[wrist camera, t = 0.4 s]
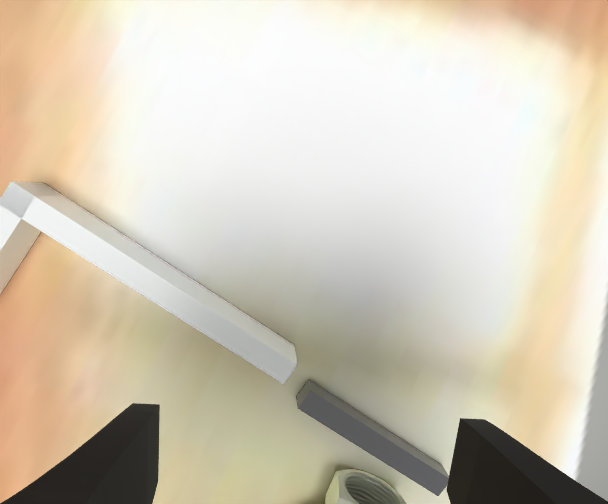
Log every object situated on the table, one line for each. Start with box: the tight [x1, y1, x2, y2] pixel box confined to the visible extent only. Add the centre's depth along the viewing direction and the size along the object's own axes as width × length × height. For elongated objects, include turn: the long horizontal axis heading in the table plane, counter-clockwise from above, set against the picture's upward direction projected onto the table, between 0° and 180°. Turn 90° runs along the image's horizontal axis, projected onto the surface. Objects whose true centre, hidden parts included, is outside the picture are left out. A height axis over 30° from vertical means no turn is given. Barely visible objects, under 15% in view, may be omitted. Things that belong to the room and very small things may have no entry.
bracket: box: [0, 181, 297, 384], centre depth 20 cm, size 15×13×2 cm
